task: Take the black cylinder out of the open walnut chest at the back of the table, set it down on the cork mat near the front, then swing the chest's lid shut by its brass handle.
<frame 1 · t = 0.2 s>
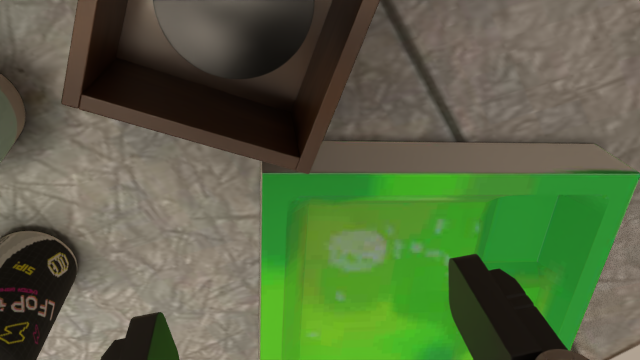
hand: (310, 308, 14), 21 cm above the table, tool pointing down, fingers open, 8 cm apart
tray: (409, 278, 42), on the table
beverage can 2: (39, 256, 36), on the table
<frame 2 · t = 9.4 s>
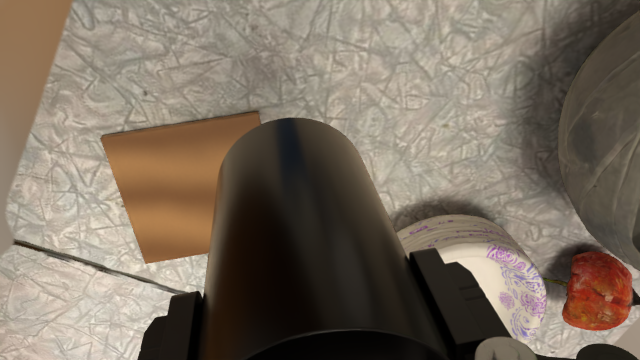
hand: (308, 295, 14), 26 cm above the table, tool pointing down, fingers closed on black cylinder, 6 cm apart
cork mat: (199, 190, 41), on the table
pomegranate: (569, 268, 51), on the table
black cylinder: (292, 187, 20), point 19 cm above the table, touching gripper
bowl: (625, 91, 42), on the table
paper bowls: (429, 262, 48), on the table
when the fingers open (7 cm above the table, at t = 15.0 s): black cylinder stays where it is, resting on cork mat.
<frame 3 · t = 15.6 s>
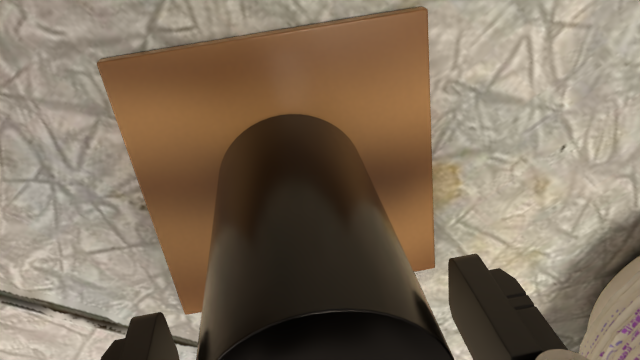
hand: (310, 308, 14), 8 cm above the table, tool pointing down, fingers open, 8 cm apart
cork mat: (290, 174, 21), on the table
black cylinder: (292, 182, 21), point 1 cm above the table, touching cork mat
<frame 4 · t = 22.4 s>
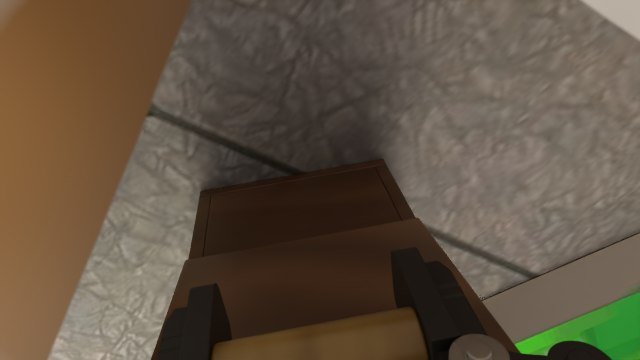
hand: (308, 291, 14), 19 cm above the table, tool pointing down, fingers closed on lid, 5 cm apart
chest: (309, 265, 37), on the table
lid: (310, 292, 18), point 16 cm above the table, hinge at 100.0°, touching gripper
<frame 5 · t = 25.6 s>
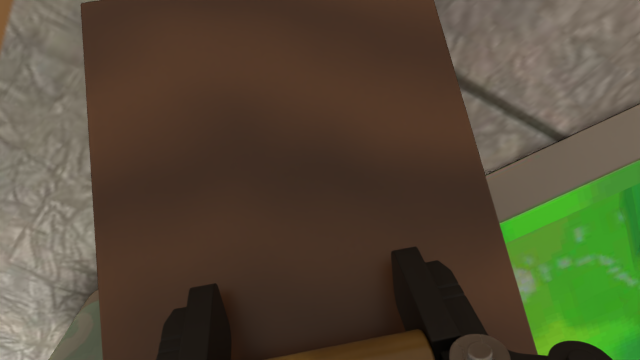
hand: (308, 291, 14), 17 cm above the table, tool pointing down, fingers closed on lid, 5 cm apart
tray: (569, 280, 39), on the table
lid: (286, 171, 14), point 15 cm above the table, hinge at 43.5°, touching gripper
coffee cup: (128, 312, 35), on the table
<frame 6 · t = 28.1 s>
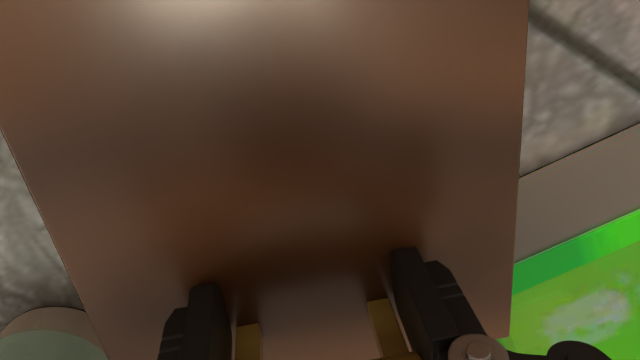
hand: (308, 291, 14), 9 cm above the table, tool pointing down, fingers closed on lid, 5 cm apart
lid: (286, 175, 11), point 10 cm above the table, hinge at -0.2°, touching chest, gripper
coffee cup: (64, 347, 25), on the table
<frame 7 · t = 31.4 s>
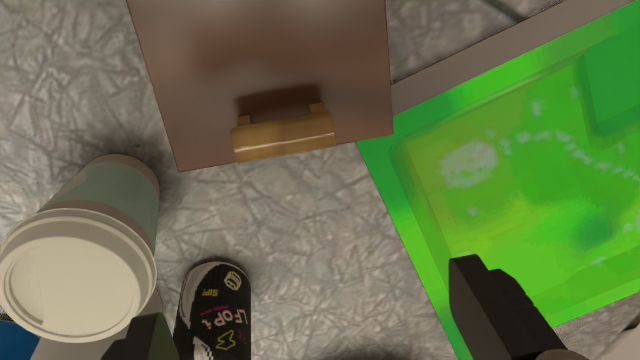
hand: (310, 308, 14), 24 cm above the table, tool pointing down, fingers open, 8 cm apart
tray: (533, 169, 42), on the table
lid: (261, 12, 23), point 10 cm above the table, hinge at -0.2°, touching chest
beverage can: (8, 340, 43), on the table
beverage can 2: (217, 281, 43), on the table
coffee cup: (120, 187, 38), on the table
cup: (113, 304, 43), on the table
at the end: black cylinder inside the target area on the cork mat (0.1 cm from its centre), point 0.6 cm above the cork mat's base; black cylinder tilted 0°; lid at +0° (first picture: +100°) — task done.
